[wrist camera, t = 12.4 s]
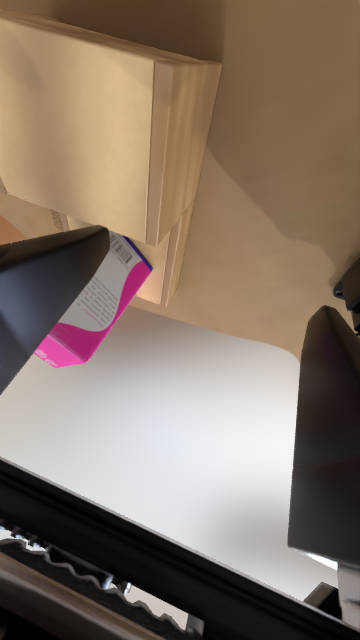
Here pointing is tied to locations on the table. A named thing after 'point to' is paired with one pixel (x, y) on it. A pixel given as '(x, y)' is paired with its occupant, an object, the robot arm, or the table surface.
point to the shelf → (105, 134)
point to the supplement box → (97, 305)
